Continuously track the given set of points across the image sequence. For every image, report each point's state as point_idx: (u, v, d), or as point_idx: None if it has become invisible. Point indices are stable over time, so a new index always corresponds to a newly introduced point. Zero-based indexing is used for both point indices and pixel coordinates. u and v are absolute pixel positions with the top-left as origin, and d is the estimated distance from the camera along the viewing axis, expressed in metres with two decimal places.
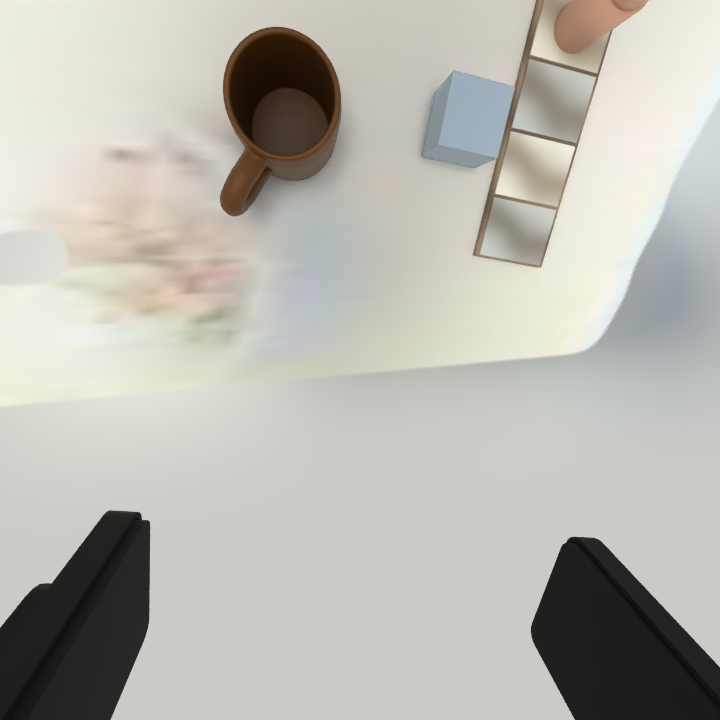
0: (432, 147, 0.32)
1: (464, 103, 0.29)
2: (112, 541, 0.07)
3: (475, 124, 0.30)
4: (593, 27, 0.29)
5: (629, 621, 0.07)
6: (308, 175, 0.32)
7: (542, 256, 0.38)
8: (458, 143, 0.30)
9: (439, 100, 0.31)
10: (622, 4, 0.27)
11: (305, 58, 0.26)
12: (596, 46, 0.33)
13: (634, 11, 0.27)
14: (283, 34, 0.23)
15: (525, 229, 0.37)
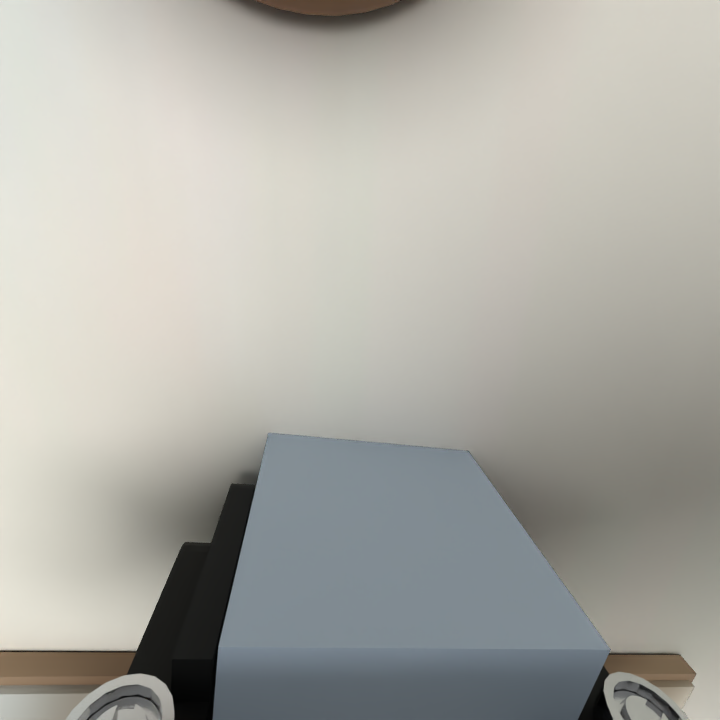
0: (252, 537, 0.06)
1: None
2: (245, 506, 0.08)
3: None
4: None
5: None
6: None
7: None
8: None
9: (456, 515, 0.07)
10: None
11: None
12: None
13: None
14: None
15: None
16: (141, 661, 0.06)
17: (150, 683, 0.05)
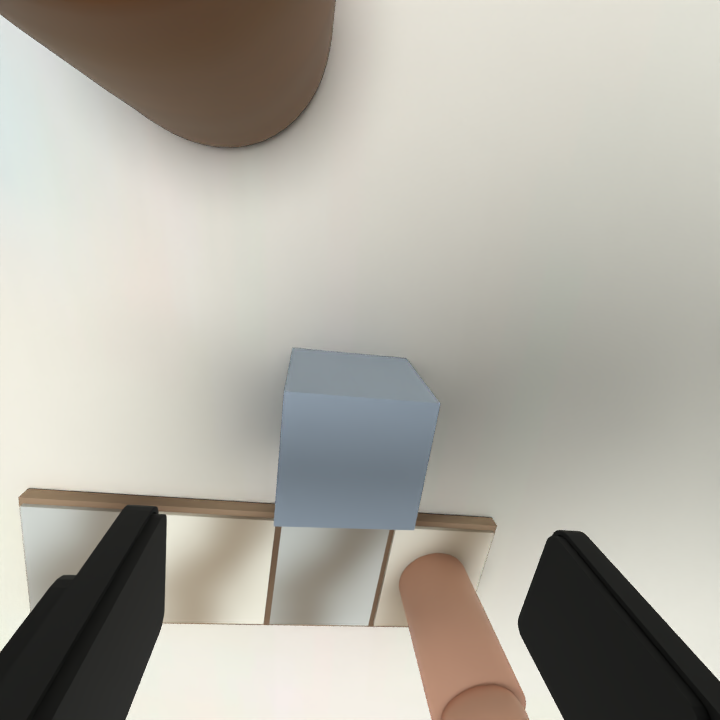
0: (291, 373, 0.13)
1: (376, 436, 0.13)
2: (132, 534, 0.07)
3: (336, 468, 0.13)
4: (424, 644, 0.16)
5: (610, 611, 0.07)
6: None
7: None
8: (291, 438, 0.12)
9: (388, 374, 0.15)
10: None
11: None
12: None
13: None
14: None
15: None
16: None
17: None
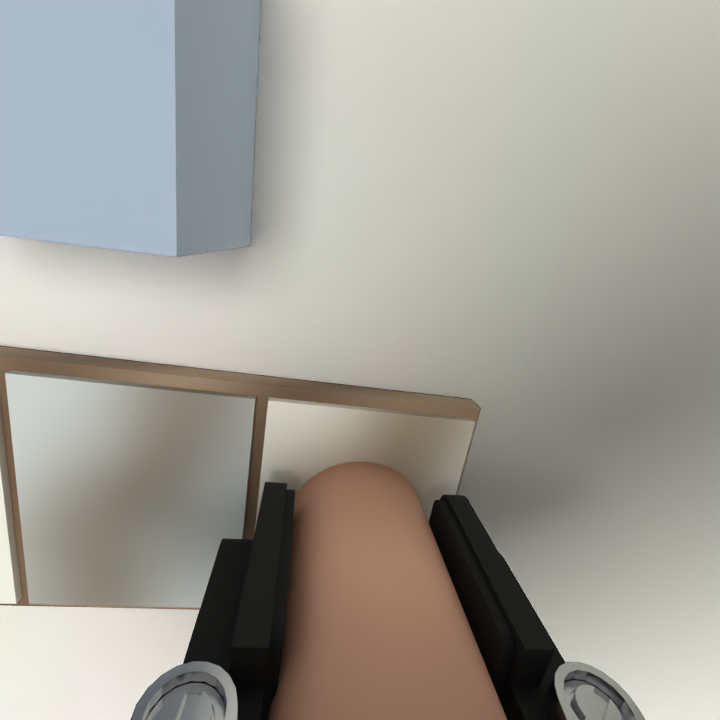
0: None
1: None
2: (281, 504, 0.08)
3: None
4: (289, 638, 0.06)
5: (463, 561, 0.08)
6: None
7: None
8: None
9: None
10: None
11: None
12: None
13: None
14: None
15: None
16: (195, 650, 0.06)
17: (211, 670, 0.05)
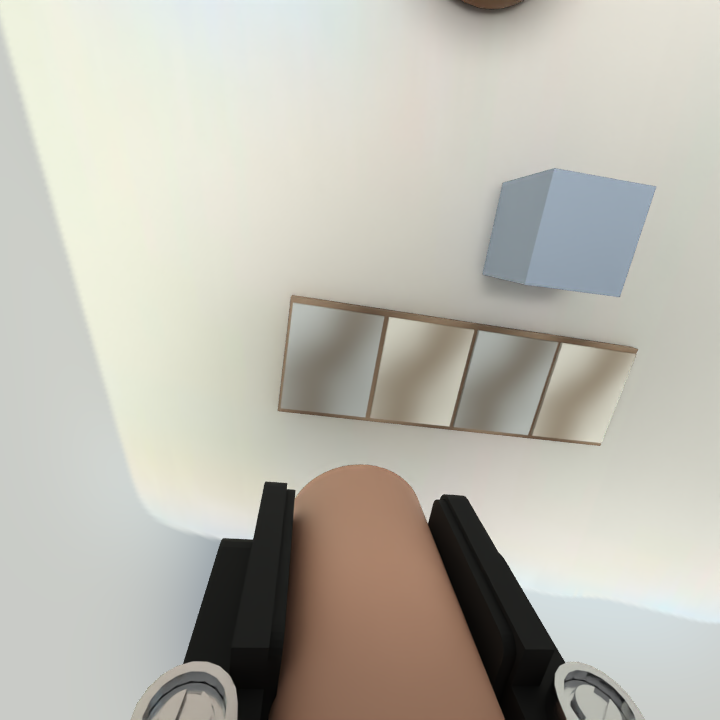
0: None
1: (608, 211, 0.17)
2: (281, 504, 0.08)
3: (577, 237, 0.18)
4: (288, 644, 0.06)
5: (463, 561, 0.08)
6: None
7: (295, 410, 0.23)
8: (551, 208, 0.17)
9: None
10: None
11: None
12: (560, 427, 0.26)
13: None
14: None
15: (336, 375, 0.23)
16: (195, 651, 0.06)
17: (211, 670, 0.05)
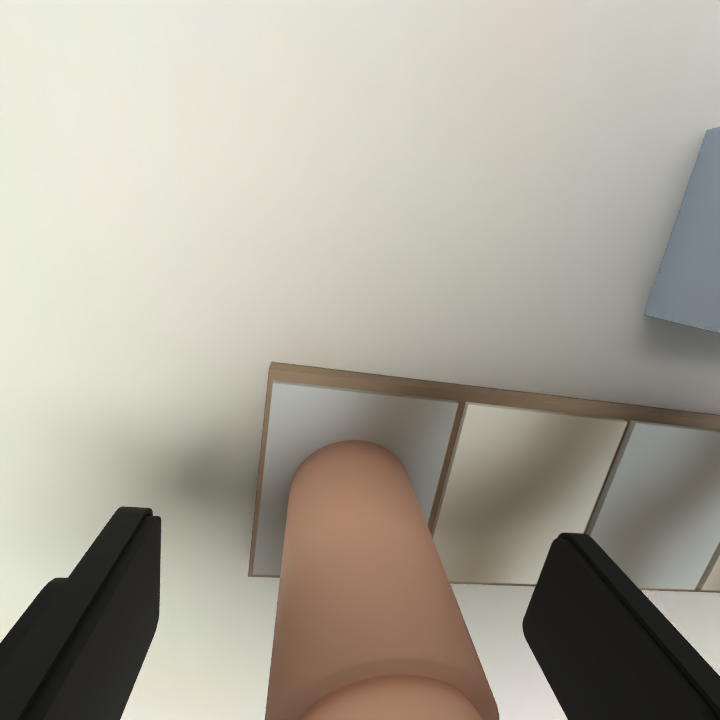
0: None
1: None
2: (125, 536, 0.07)
3: None
4: (290, 579, 0.07)
5: (616, 614, 0.07)
6: None
7: None
8: None
9: None
10: None
11: None
12: None
13: None
14: None
15: None
16: None
17: None
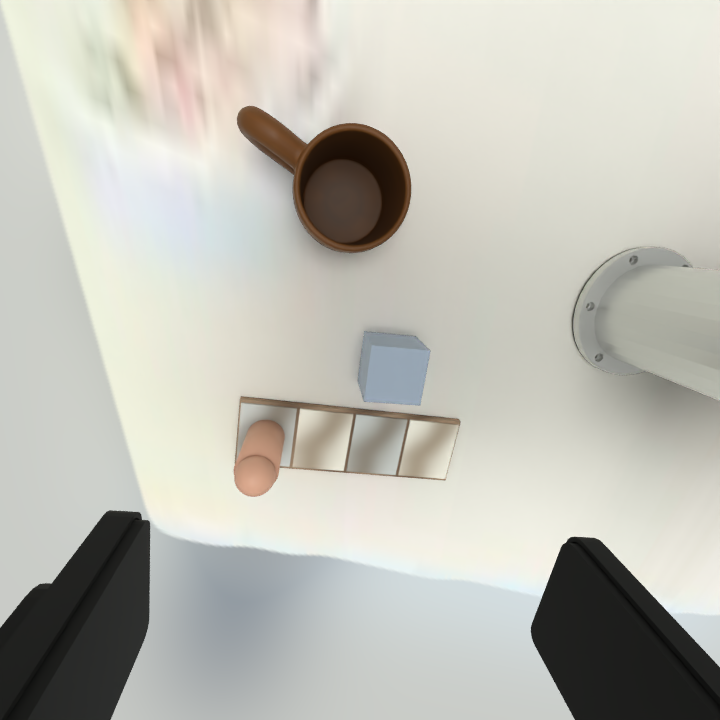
0: (370, 340, 0.33)
1: (405, 363, 0.32)
2: (112, 541, 0.07)
3: (389, 376, 0.33)
4: (241, 448, 0.33)
5: (629, 621, 0.07)
6: None
7: None
8: (373, 364, 0.32)
9: (409, 341, 0.34)
10: (237, 466, 0.31)
11: (393, 217, 0.27)
12: (416, 470, 0.41)
13: None
14: (405, 194, 0.24)
15: None
16: None
17: None
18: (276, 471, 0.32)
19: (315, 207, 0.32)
